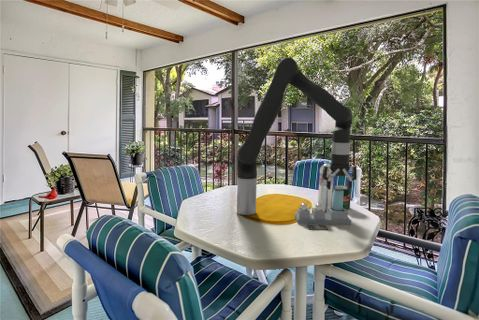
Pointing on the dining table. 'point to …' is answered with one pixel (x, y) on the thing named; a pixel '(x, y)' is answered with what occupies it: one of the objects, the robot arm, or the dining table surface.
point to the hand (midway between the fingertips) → (338, 189)
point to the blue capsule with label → (337, 199)
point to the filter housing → (322, 217)
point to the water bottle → (325, 190)
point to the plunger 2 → (318, 207)
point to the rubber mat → (316, 227)
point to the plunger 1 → (303, 206)
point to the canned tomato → (345, 196)
